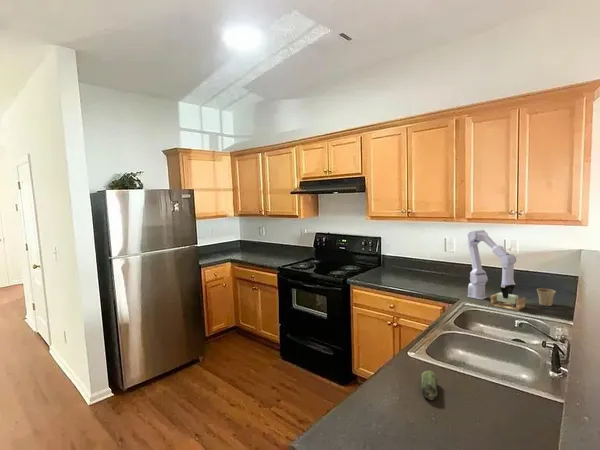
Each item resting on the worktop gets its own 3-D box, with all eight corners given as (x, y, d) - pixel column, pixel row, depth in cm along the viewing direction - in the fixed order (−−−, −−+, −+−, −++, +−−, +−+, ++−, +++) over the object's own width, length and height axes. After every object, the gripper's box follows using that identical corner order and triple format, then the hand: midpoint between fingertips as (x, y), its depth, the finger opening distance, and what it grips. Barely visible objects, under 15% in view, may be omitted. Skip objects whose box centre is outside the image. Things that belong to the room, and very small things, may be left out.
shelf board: (496, 300, 205) (496, 293, 205) (500, 298, 208) (500, 292, 208) (515, 304, 197) (515, 297, 197) (518, 302, 201) (518, 295, 200)
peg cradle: (490, 304, 206) (490, 296, 206) (497, 301, 213) (498, 292, 213) (518, 310, 195) (518, 301, 194) (525, 306, 201) (525, 297, 201)
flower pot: (536, 301, 212) (537, 287, 211) (555, 303, 206) (556, 289, 205) (535, 305, 204) (535, 290, 204) (554, 308, 198) (555, 293, 198)
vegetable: (421, 380, 124) (421, 367, 123) (436, 382, 122) (436, 369, 122) (420, 401, 111) (420, 387, 110) (437, 404, 109) (437, 390, 109)
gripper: (510, 277, 194) (510, 301, 195) (519, 274, 203) (519, 296, 204) (497, 275, 200) (496, 298, 201) (506, 272, 209) (506, 293, 210)
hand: (507, 297), depth 203 cm, fingers closed on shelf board, 5 cm apart
